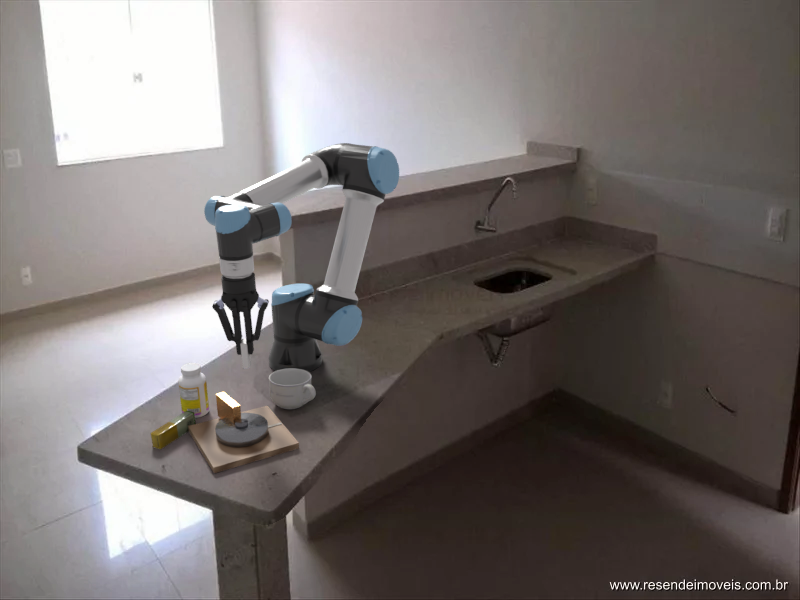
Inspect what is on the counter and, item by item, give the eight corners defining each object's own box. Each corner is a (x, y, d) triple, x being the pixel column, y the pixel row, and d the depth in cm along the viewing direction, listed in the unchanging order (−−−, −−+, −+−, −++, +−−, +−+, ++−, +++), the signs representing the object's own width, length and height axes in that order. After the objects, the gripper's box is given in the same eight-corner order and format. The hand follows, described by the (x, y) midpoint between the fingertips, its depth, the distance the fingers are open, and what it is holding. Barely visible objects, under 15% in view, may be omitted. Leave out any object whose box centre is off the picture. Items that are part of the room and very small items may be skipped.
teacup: (262, 401, 189) (260, 374, 187) (298, 389, 196) (296, 362, 193) (291, 423, 180) (289, 394, 177) (327, 409, 186) (327, 381, 183)
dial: (198, 423, 176) (196, 400, 173) (243, 407, 183) (241, 385, 181) (231, 453, 164) (229, 429, 162) (277, 435, 171) (276, 411, 169)
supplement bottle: (198, 403, 188) (194, 358, 184) (214, 411, 184) (210, 365, 180) (176, 413, 183) (171, 367, 179) (192, 422, 180) (187, 375, 175)
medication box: (188, 424, 179) (187, 409, 178) (197, 426, 178) (195, 412, 177) (151, 447, 169) (149, 432, 168) (160, 450, 168) (158, 435, 167)
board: (267, 410, 185) (267, 405, 185) (299, 448, 169) (298, 442, 169) (188, 431, 176) (187, 425, 175) (214, 473, 160) (213, 467, 159)
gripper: (205, 280, 163) (216, 374, 172) (264, 278, 163) (272, 372, 172) (212, 268, 170) (222, 359, 179) (268, 267, 170) (275, 358, 179)
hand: (246, 365), depth 175 cm, fingers closed
